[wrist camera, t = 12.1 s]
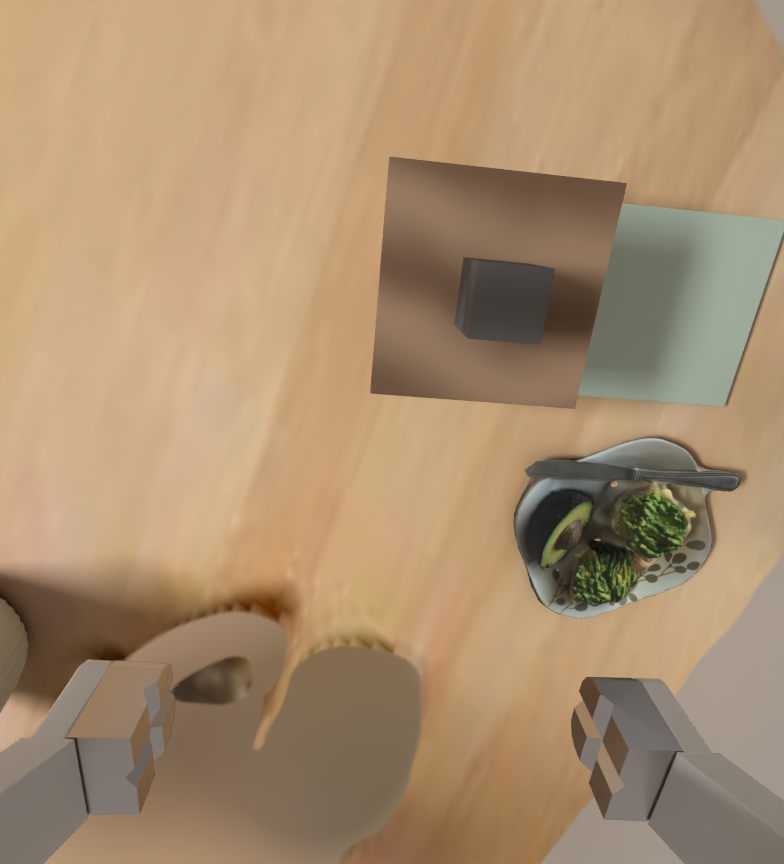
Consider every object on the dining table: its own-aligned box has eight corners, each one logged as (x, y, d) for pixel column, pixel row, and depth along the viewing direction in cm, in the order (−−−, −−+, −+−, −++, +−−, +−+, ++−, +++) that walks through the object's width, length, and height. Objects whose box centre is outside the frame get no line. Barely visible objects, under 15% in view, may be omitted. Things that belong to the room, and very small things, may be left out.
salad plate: (714, 387, 42) (754, 404, 38) (738, 556, 48) (775, 588, 44) (490, 466, 44) (503, 492, 39) (542, 620, 50) (558, 657, 46)
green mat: (595, 201, 36) (598, 200, 35) (781, 220, 37) (787, 220, 36) (554, 391, 41) (557, 393, 40) (719, 404, 42) (724, 406, 41)
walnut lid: (388, 159, 26) (394, 143, 21) (619, 184, 26) (671, 174, 22) (370, 389, 30) (371, 416, 25) (569, 404, 31) (604, 433, 26)
